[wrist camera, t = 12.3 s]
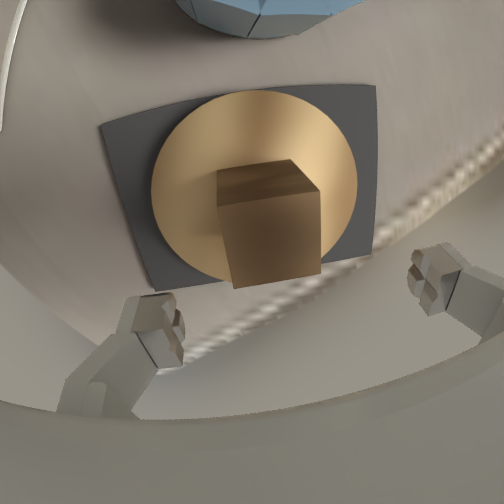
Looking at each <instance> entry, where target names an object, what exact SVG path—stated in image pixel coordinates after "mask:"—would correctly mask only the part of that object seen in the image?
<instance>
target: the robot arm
mask: <svg viewBox="0 0 504 504" xmlns="http://www.w3.org/2000/svg"><path fill="white" fill-rule="evenodd" d="M411 261H412V263H413V265H412V266H411V268H410V269H409V271H408V276H407V281H408V286H409V289H410V291H411V292H412V294H413V295H414V296H416V297H418V298H420V302H419V304H420V306H421V307H422V308H423V310H424V311H425V313H426V314H427V316H431V315H434V314H437V313H440V312H443V311H446V312H447V313H448V314H450V315H451V316H453V317H454V318H455V319H457V320H458V321H460V322H461V323H463V324H464V325H466V326H467V327H468V328H470V329H471V330H473V331H474V332H476V333H477V334H479V335H480V336H481V337H482V339H481V340H480V342H479V344H478V345H477V346H475V347H473V348H471V349H469V350H467V351H465V352H462V353H461V354H459V355H456V356H454V357H452V358H450V359H447V360H445V361H443V362H440V363H438V364H435V365H433V366H431V367H428V368H426V369H423V370H421V371H418V372H415V373H413V374H410V375H407V376H405V377H402V378H399V379H396V380H393V381H390V382H387V383H384V384H381V385H378V386H375V387H371V388H368V389H365V390H361V391H358V392H354V393H351V394H347V395H343V396H339V397H335V398H331V399H328V400H323V401H319V402H314V403H309V404H305V405H300V406H295V407H289V408H284V409H278V410H272V411H265V412H259V413H251V414H243V415H234V416H225V417H213V418H199V419H179V420H178V419H175V420H140V419H139V418H138V417H137V416H136V415H135V414H134V413H133V412H132V411H131V410H132V408H133V406H134V405H135V404H136V402H137V401H138V399H139V398H140V396H141V395H142V393H143V392H144V390H145V389H146V388H147V386H148V385H149V383H150V382H151V380H152V379H153V377H154V376H155V374H156V373H157V371H158V369H162V368H172V367H181V366H183V355H184V349H183V347H182V345H181V343H182V342H183V341H184V339H185V325H184V320H183V317H182V314H181V312H180V311H179V310H177V309H176V299H175V297H174V295H173V294H172V293H171V292H170V293H161V294H153V295H144V296H137V297H129V298H128V299H127V300H126V302H125V305H124V308H123V311H122V314H121V317H120V320H119V324H118V327H117V330H116V333H115V334H111V335H110V336H109V337H108V338H107V339H106V340H105V341H104V342H103V343H102V344H101V345H100V346H99V347H98V348H97V349H96V350H95V351H94V352H93V353H92V354H91V355H90V356H89V357H88V358H87V359H86V360H85V361H84V362H83V363H82V364H81V365H80V366H79V367H78V368H77V369H76V370H75V371H74V372H73V373H72V374H71V375H70V376H69V377H68V378H67V379H66V380H65V383H64V387H63V390H62V393H61V397H60V401H59V404H58V407H57V411H56V412H53V411H47V410H41V409H36V408H31V407H26V406H21V405H17V404H12V403H9V402H5V401H1V400H0V504H504V278H502V277H500V276H498V275H495V274H493V273H491V272H489V271H487V270H484V269H482V268H480V267H477V266H474V267H473V266H472V265H471V264H470V263H469V262H468V261H467V260H466V259H465V258H464V257H463V256H462V255H461V254H460V253H459V252H458V251H457V250H456V249H455V248H454V247H453V246H452V245H451V244H450V243H447V242H445V243H441V244H437V245H435V246H430V247H425V248H421V249H417V250H414V252H413V253H412V257H411Z"/></svg>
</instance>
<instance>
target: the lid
mask: <svg viewBox="0 0 504 504" xmlns="http://www.w3.org/2000/svg"><path fill="white" fill-rule="evenodd" d="M356 196H357V171H356V165H355V160H354V157H353V154H352V152H351V149H350V147H349V145H348V143H347V141H346V139H345V137H344V135H343V134H342V133H341V131H340V130H339V128H338V127H337V126H336V125H335V124H334V123H333V121H332V120H331V119H330V118H329V117H328V116H327V115H325V114H324V113H323V112H322V111H320V110H319V109H318V108H316V107H315V106H313V105H311V104H309V103H308V102H306V101H304V100H302V99H299V98H297V97H294V96H291V95H288V94H284V93H280V92H275V91H264V90H250V91H240V92H235V93H230V94H226V95H224V96H221V97H218V98H215V99H213V100H211V101H209V102H207V103H205V104H203V105H202V106H200V107H199V108H197V109H196V110H194V111H193V112H192V113H190V114H189V115H188V116H187V117H186V118H185V119H184V120H183V121H182V122H180V123H179V124H178V125H177V126H176V128H175V129H174V130H173V132H172V133H171V134H170V135H169V137H168V138H167V140H166V141H165V143H164V145H163V147H162V149H161V150H160V153H159V155H158V158H157V161H156V163H155V167H154V171H153V176H152V185H151V197H152V206H153V211H154V215H155V219H156V221H157V224H158V227H159V229H160V231H161V233H162V235H163V236H164V238H165V240H166V241H167V243H168V244H169V245H170V247H171V248H172V249H173V250H174V251H175V252H176V253H177V254H178V255H179V256H180V258H182V259H183V260H184V261H185V262H187V263H188V264H189V265H191V266H192V267H194V268H195V269H197V270H199V271H200V272H203V273H205V274H207V275H209V276H211V277H214V278H217V279H220V280H224V281H229V282H232V284H233V288H234V289H237V288H243V287H249V286H255V285H261V284H266V283H272V282H278V281H284V280H289V279H295V278H300V277H306V276H311V275H316V274H321V258H322V257H323V256H324V255H325V254H326V253H327V252H328V251H329V250H330V249H331V248H332V247H333V246H334V244H335V243H336V242H337V241H338V240H339V238H340V237H341V235H342V234H343V232H344V231H345V229H346V227H347V225H348V223H349V221H350V218H351V215H352V213H353V210H354V206H355V201H356Z"/></svg>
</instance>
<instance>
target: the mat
mask: <svg viewBox="0 0 504 504" xmlns="http://www.w3.org/2000/svg"><path fill="white" fill-rule="evenodd" d="M258 90H264V91H275V92H280V93H284V94H288V95H291V96H294V97H297V98H299V99H302V100H304V101H306V102H308V103H309V104H311V105H313V106H315V107H316V108H318V109H319V110H320V111H322V112H323V113H324V114H325V115H327V116H328V117H329V118H330V119H331V120H332V121H333V123H334V124H335V125H336V126H337V127H338V128H339V130H340V131H341V133H342V134H343V135H344V137H345V139H346V141H347V143H348V145H349V147H350V149H351V152H352V154H353V157H354V160H355V165H356V171H357V196H356V201H355V206H354V210H353V213H352V215H351V218H350V221H349V223H348V225H347V227H346V229H345V231H344V232H343V234H342V235H341V237H340V238H339V240H338V241H337V242H336V243H335V244H334V246H333V247H332V248H331V249H330V250H329V251H328V252H327V253H326V254H325V255H324V256H323V257H322V258H321V264H323V263H329V262H334V261H339V260H344V259H350V258H355V257H360V256H365V255H370V254H371V252H372V243H373V233H374V221H375V208H376V190H377V159H378V131H377V101H376V86H372V85H308V86H291V87H278V88H267V89H258ZM228 94H230V93H228ZM224 95H226V94H222V95H216V96H210V97H205V98H200V99H195V100H190V101H185V102H180V103H176V104H172V105H167V106H163V107H159V108H155V109H152V110H148V111H144V112H141V113H137V114H134V115H130V116H127V117H124V118H121V119H117V120H114V121H111V122H108V123H105V124H102V125H101V127H102V131H103V135H104V139H105V143H106V147H107V151H108V155H109V159H110V162H111V166H112V169H113V173H114V176H115V180H116V183H117V186H118V190H119V193H120V196H121V199H122V203H123V206H124V209H125V212H126V215H127V218H128V221H129V224H130V227H131V229H132V232H133V235H134V238H135V241H136V243H137V246H138V249H139V251H140V254H141V257H142V259H143V262H144V265H145V267H146V270H147V272H148V275H149V277H150V280H151V282H152V285H153V287H154V289H155V292H157V291H164V290H170V289H177V288H183V287H189V286H196V285H202V284H208V283H214V282H221V281H224V280H220V279H217V278H214V277H211V276H209V275H207V274H205V273H203V272H200V271H199V270H197V269H195V268H194V267H192V266H191V265H189V264H188V263H187V262H185V261H184V260H183V259H182V258H180V256H179V255H178V254H177V253H176V252H175V251H174V250H173V249H172V248H171V247H170V245H169V244H168V243H167V241H166V240H165V238H164V236H163V235H162V233H161V231H160V229H159V227H158V224H157V221H156V219H155V215H154V211H153V206H152V197H151V185H152V176H153V171H154V167H155V163H156V161H157V158H158V155H159V153H160V150H161V149H162V147H163V145H164V143H165V141H166V140H167V138H168V137H169V135H170V134H171V133H172V132H173V130H174V129H175V128H176V126H177V125H178V124H179V123H180V122H182V121H183V120H184V119H185V118H186V117H187V116H188V115H189V114H190V113H192V112H193V111H194V110H196V109H197V108H199V107H200V106H202V105H203V104H205V103H207V102H209V101H211V100H213V99H215V98H218V97H221V96H224Z"/></svg>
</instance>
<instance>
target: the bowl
mask: <svg viewBox="0 0 504 504" xmlns="http://www.w3.org/2000/svg"><path fill="white" fill-rule="evenodd" d="M175 1H176V3H177V4H178V6H179V7H180V8H181V9H182V10H183V11H184V12H185V13H186V14H187V15H188V16H190V17H191V18H192V19H194V20H195V21H196V22H198V23H200V24H201V25H204V26H206V27H208V28H210V29H212V30H214V31H217V32H220V33H223V34H227V35H230V36H235V37H241V38H249V39H273V38H281V37H286V36H290V35H298V34H300V33H302V32H304V31H306V30H307V29H309V28H311V27H313V26H315V25H317V24H318V23H320V22H322V21H324V20H326V19H328V18H330V17H332V16H334V15H336V14H338V13H340V12H342V11H344V10H346V9H348V8H350V7H352V6H355V5H357V4H359V3H361V2H363V1H366V0H175Z"/></svg>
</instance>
